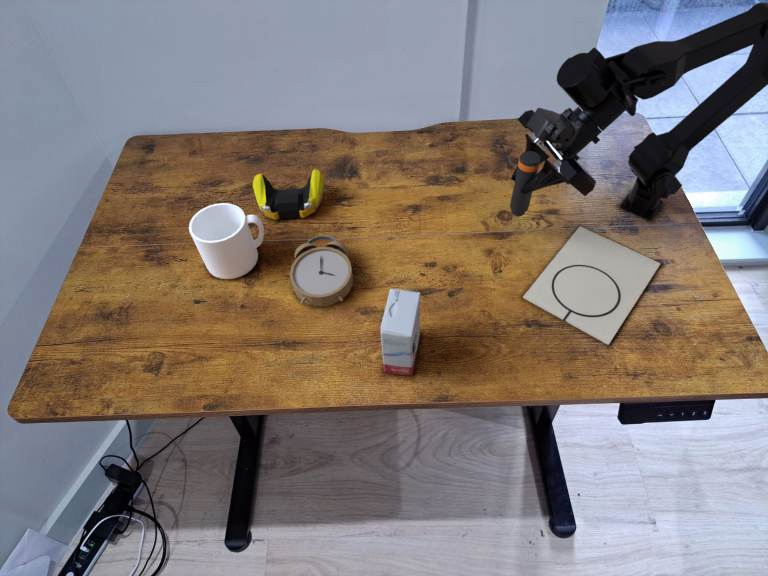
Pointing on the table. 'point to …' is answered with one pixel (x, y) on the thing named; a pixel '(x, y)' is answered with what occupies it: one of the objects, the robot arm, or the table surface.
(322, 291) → the alarm clock
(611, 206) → the table surface
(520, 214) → the marker
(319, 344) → the table surface
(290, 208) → the gaming controller
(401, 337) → the ink box
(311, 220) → the table surface
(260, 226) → the mug
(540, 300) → the paper sheet
